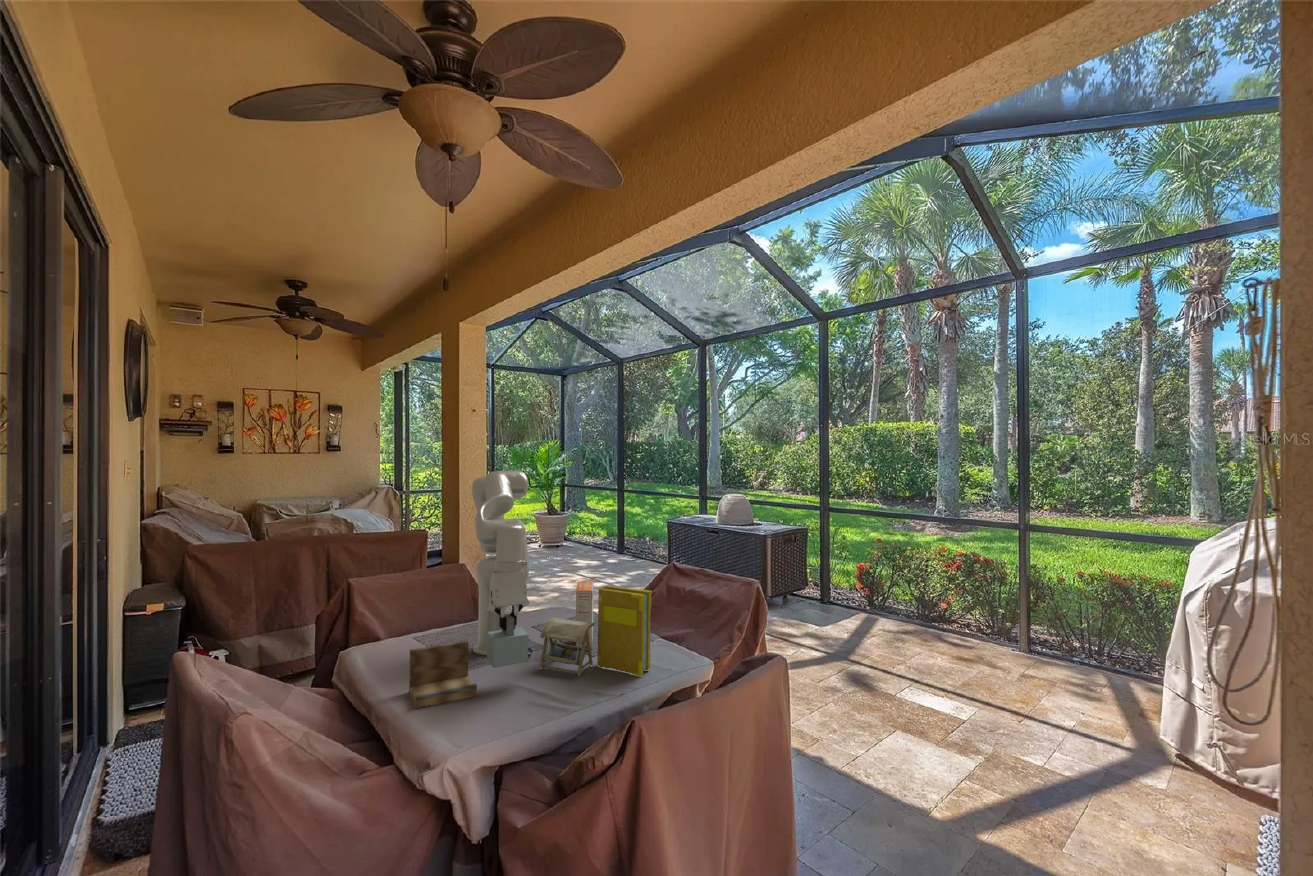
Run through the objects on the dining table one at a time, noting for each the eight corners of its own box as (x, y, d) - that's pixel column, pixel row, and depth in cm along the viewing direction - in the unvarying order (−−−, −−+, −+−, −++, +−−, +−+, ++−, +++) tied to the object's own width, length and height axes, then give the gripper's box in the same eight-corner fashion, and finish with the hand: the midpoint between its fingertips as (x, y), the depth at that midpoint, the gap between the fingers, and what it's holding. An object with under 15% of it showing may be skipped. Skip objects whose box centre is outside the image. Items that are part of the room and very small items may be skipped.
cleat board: (466, 681, 175) (467, 640, 175) (476, 696, 164) (477, 653, 164) (409, 692, 166) (409, 649, 166) (415, 708, 156) (416, 663, 156)
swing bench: (538, 670, 184) (539, 623, 184) (553, 660, 193) (554, 615, 193) (580, 677, 179) (581, 629, 179) (594, 666, 188) (594, 620, 188)
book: (650, 669, 185) (651, 590, 186) (640, 677, 179) (642, 595, 180) (603, 660, 192) (605, 584, 193) (593, 667, 186) (594, 589, 187)
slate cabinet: (520, 653, 176) (521, 610, 176) (527, 661, 170) (528, 617, 170) (486, 659, 171) (487, 615, 171) (493, 668, 165) (494, 622, 165)
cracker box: (576, 637, 215) (577, 580, 215) (593, 637, 216) (594, 580, 216) (574, 651, 201) (575, 590, 201) (592, 650, 202) (593, 590, 202)
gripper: (531, 560, 178) (529, 621, 178) (478, 566, 170) (477, 629, 170) (539, 566, 171) (538, 628, 172) (485, 571, 163) (483, 637, 163)
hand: (507, 628), depth 171 cm, fingers closed on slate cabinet
